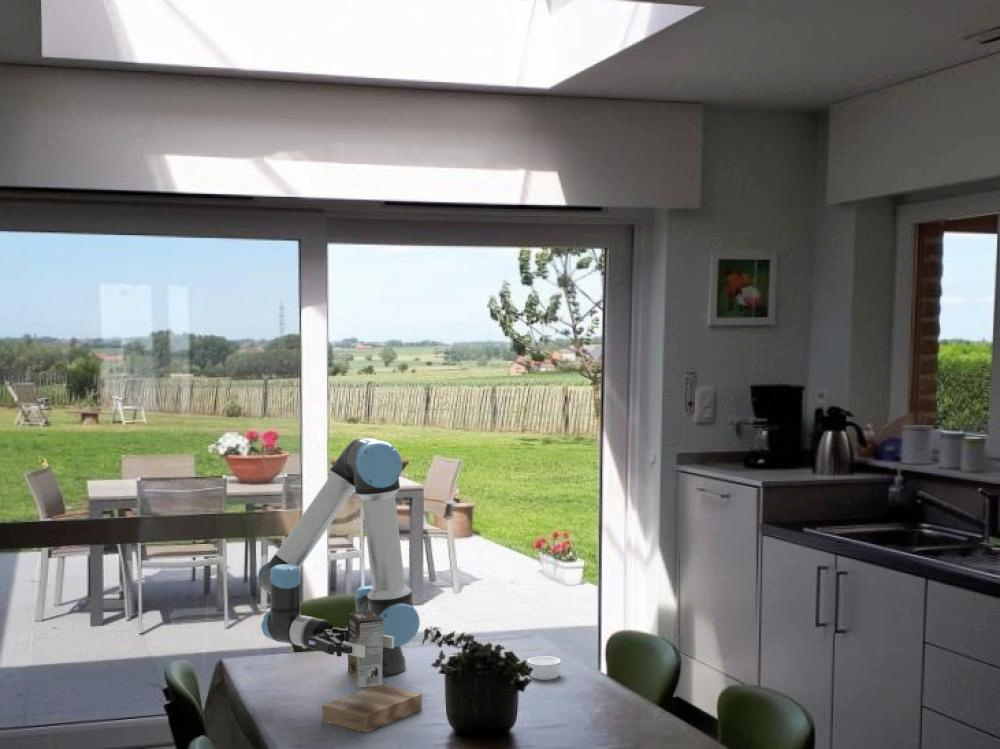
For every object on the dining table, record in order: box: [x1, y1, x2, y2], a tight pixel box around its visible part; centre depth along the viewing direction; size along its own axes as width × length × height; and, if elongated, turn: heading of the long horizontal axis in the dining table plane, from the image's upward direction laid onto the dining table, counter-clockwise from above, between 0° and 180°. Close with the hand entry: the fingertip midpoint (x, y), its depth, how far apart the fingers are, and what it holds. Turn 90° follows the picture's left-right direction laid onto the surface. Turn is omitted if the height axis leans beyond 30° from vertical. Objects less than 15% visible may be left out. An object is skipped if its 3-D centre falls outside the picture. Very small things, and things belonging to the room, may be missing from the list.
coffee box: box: [347, 611, 384, 688], centre depth 288 cm, size 9×6×16 cm
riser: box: [321, 684, 423, 733], centre depth 289 cm, size 20×14×4 cm
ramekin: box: [527, 655, 562, 681], centre depth 320 cm, size 9×9×4 cm
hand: (378, 647), depth 285 cm, fingers closed on coffee box, 9 cm apart
